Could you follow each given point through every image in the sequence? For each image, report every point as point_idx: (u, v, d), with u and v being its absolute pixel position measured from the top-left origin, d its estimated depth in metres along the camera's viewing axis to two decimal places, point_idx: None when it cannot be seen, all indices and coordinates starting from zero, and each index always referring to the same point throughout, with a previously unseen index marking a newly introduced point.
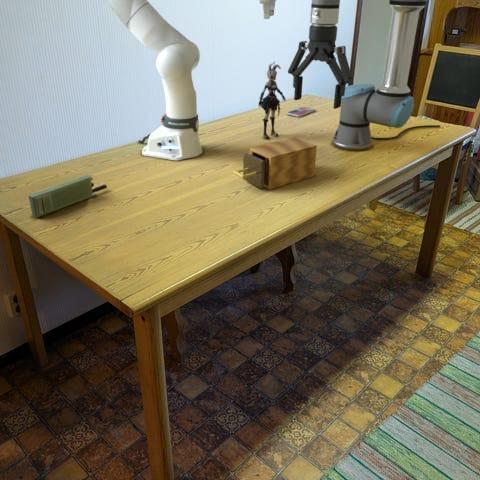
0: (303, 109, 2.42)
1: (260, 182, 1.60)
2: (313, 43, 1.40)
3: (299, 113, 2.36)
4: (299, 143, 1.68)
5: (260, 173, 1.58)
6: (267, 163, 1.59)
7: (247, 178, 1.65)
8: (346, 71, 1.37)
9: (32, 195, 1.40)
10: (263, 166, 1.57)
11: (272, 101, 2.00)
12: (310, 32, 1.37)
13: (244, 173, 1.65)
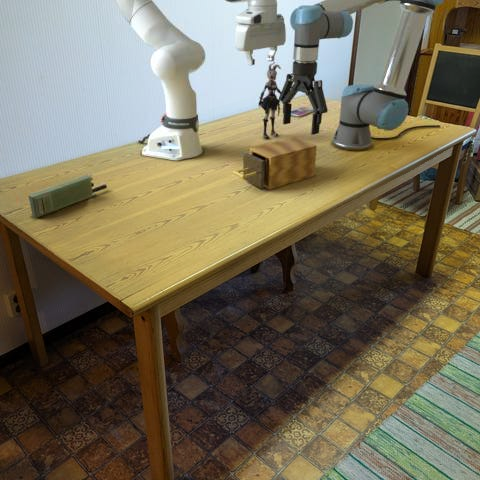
0: (303, 109, 2.42)
1: (260, 182, 1.60)
2: None
3: (299, 113, 2.36)
4: (299, 143, 1.68)
5: (260, 173, 1.58)
6: (267, 163, 1.59)
7: (247, 178, 1.65)
8: None
9: (32, 195, 1.40)
10: (263, 166, 1.57)
11: (272, 101, 2.00)
12: None
13: (244, 173, 1.65)
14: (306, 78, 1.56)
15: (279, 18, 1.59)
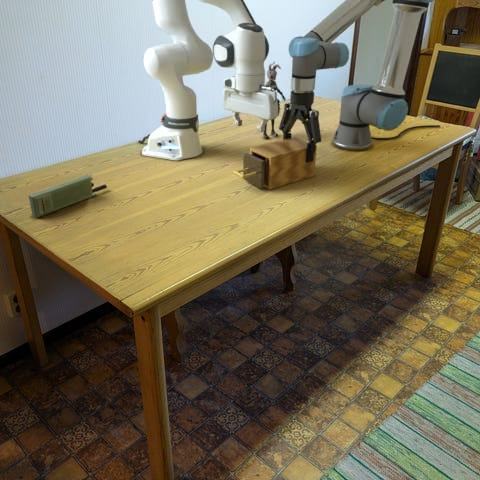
0: None
1: (260, 182, 1.60)
2: None
3: None
4: (299, 143, 1.68)
5: (260, 173, 1.58)
6: (267, 163, 1.59)
7: (247, 178, 1.65)
8: None
9: (32, 195, 1.40)
10: (263, 166, 1.57)
11: None
12: None
13: (244, 173, 1.65)
14: (303, 107, 1.61)
15: (268, 91, 1.46)
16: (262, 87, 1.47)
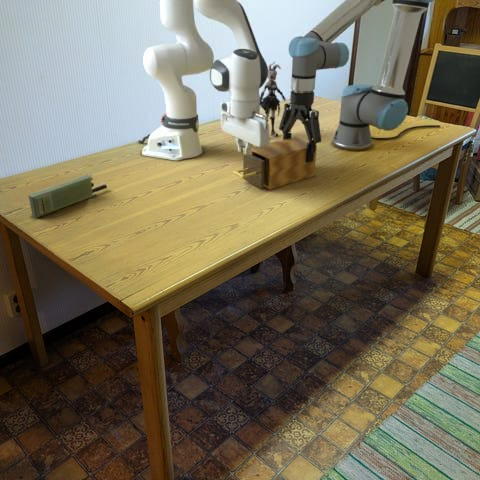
0: None
1: (260, 182, 1.60)
2: None
3: None
4: (299, 143, 1.68)
5: (260, 173, 1.58)
6: (267, 163, 1.59)
7: (247, 178, 1.65)
8: None
9: (32, 195, 1.40)
10: (263, 166, 1.57)
11: (272, 101, 2.00)
12: None
13: (244, 173, 1.65)
14: (303, 107, 1.61)
15: (260, 119, 1.44)
16: (254, 114, 1.46)
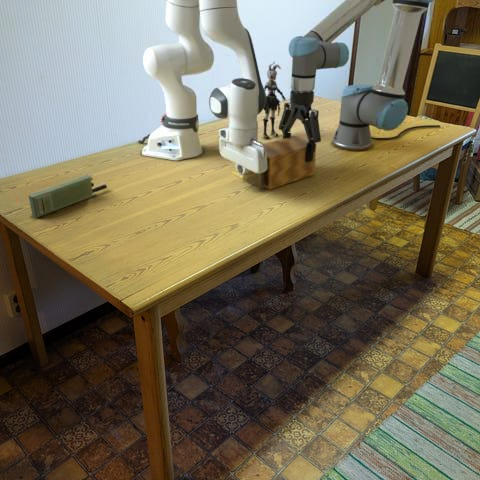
0: None
1: (260, 182, 1.60)
2: None
3: None
4: (298, 142, 1.68)
5: (260, 173, 1.58)
6: (267, 163, 1.58)
7: (247, 178, 1.65)
8: None
9: (32, 195, 1.40)
10: None
11: (272, 101, 2.00)
12: None
13: None
14: (303, 107, 1.61)
15: (258, 146, 1.48)
16: (253, 141, 1.49)
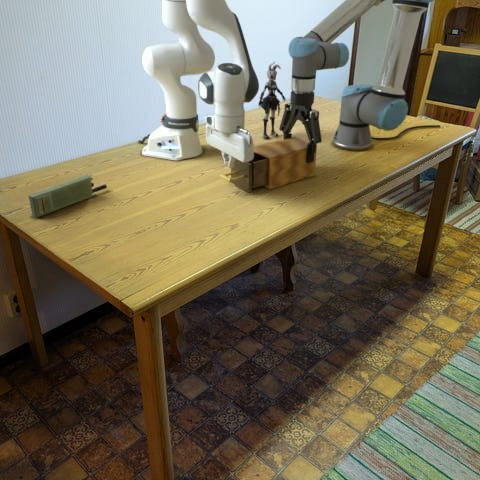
0: None
1: (247, 186, 1.57)
2: None
3: None
4: (299, 143, 1.68)
5: (247, 177, 1.56)
6: (254, 166, 1.56)
7: (235, 181, 1.62)
8: None
9: (32, 195, 1.40)
10: (250, 170, 1.54)
11: (272, 101, 2.00)
12: None
13: (232, 176, 1.63)
14: (303, 107, 1.61)
15: (244, 134, 1.44)
16: (239, 129, 1.45)
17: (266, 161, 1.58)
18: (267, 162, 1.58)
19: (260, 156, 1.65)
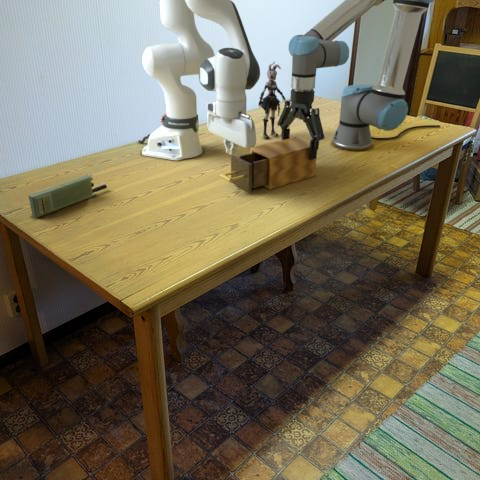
0: None
1: (248, 185, 1.57)
2: None
3: None
4: (299, 143, 1.68)
5: (247, 176, 1.56)
6: (255, 166, 1.56)
7: (235, 181, 1.62)
8: None
9: (32, 195, 1.40)
10: (250, 169, 1.54)
11: (272, 101, 2.00)
12: None
13: (232, 176, 1.63)
14: (303, 106, 1.60)
15: (246, 119, 1.41)
16: (241, 114, 1.43)
17: (266, 161, 1.58)
18: (267, 162, 1.58)
19: (260, 156, 1.65)
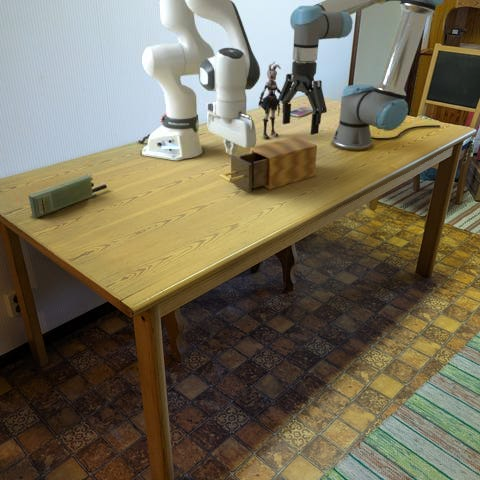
0: (303, 109, 2.42)
1: (248, 186, 1.57)
2: None
3: (299, 113, 2.36)
4: (299, 143, 1.68)
5: (247, 176, 1.56)
6: (255, 166, 1.56)
7: (235, 181, 1.62)
8: None
9: (32, 195, 1.40)
10: (250, 169, 1.54)
11: (272, 101, 2.00)
12: None
13: (232, 176, 1.63)
14: (305, 78, 1.56)
15: (246, 119, 1.41)
16: (241, 114, 1.43)
17: (266, 161, 1.58)
18: (267, 162, 1.58)
19: (260, 156, 1.65)
